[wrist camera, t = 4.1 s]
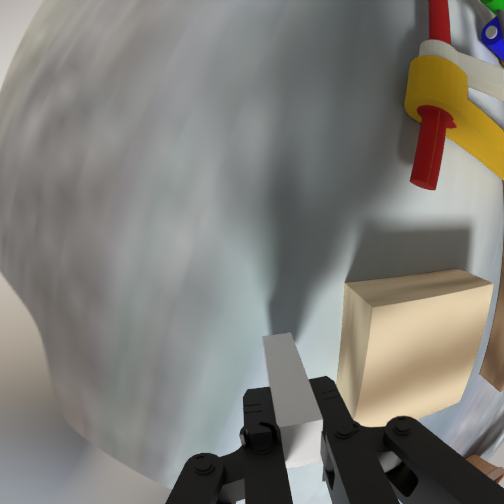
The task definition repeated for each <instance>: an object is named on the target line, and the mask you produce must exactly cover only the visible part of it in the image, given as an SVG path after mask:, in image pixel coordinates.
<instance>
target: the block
mask: <svg viewBox="0 0 504 504" xmlns="http://www.w3.org/2000/svg"><path fill="white" fill-rule="evenodd" d="M493 285H494V283H491V282H489V281H487V280H484V279H482V278H480V277H477V276H475V275H472V274H470V273H468V272H465V271H463V270H460V269H452V270H445V271H438V272H431V273H424V274H416V275H408V276H400V277H392V278H384V279H375V280H366V281H357V282H347V283H344V302H343V318H342V332H341V344H340V355H339V364H338V373H337V382H336V386H337V388H338V390H339V392H340V394H341V397H342V398H343V400H344V402H345V404H346V407H347V409H348V411H349V413H350V415H351V417H352V418H353V420H354V421H356V422H358V423H359V424H360V425H362V426H366V427H381V426H386V424H387V422H388V421H390V420H391V419H392V418H394V417H397V416H410V417H412V418H414V419H416V420H417V419H420V418H422V417H425V416H427V415H430V414H432V413H435V412H437V411H439V410H442V409H444V408H446V407H449V406H451V405H453V404H455V403H457V402H459V401H460V399H461V397H462V394H463V392H464V389H465V387H466V384H467V382H468V379H469V376H470V373H471V371H472V368H473V365H474V362H475V359H476V356H477V352H478V349H479V346H480V342H481V339H482V335H483V332H484V328H485V324H486V320H487V315H488V311H489V306H490V301H491V296H492V291H493Z"/></svg>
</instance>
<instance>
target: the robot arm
mask: <svg viewBox="0 0 504 504" xmlns="http://www.w3.org/2000/svg"><path fill="white" fill-rule="evenodd" d="M262 339H263V347H264V355H265V363H266V371H267V378H268V384H269V387H263V388H255V389H247V391H246V393H245V395H244V396H243V412H244V427H243V428H242V429H241V431H240V435H239V436H240V439H241V443H242V446H241V447H240V448H239V449H238V450H236V451H235V452H233V453H231V454H228V455H225V456H222V457H218V456H217V455H214V454H211V453H200V454H196V455H194V456H192V457H191V458H189V459H188V461H187V462H186V463H185V465H184V467H183V469H182V471H181V473H180V475H179V477H178V479H177V481H176V483H175V485H174V487H173V489H172V491H171V493H170V495H169V497H168V499H167V502H166V503H165V504H236V501H239V500H242V499H245V504H293V501H292V496H291V490H290V485H289V480H288V474H287V468H293V467H299V466H304V465H309V464H314V463H319V462H321V458H322V461H323V464H324V466H323V477H322V482H323V481H325V480H326V483H327V487H328V490H329V494H330V497H331V500H332V504H400V503H399V501H398V499H399V500H400V501H401V502H402V503H403V504H504V488H503V487H501V486H500V485H499V484H497V483H496V482H495V481H493V480H492V479H491V478H489V477H488V476H487V475H485V474H484V473H483V472H482V471H480V470H479V469H478V468H476V467H475V466H474V465H472V464H471V463H470V462H469V461H467V460H466V459H465V458H463V457H462V456H461V455H460V454H458V453H457V452H456V451H455V450H453V449H452V448H451V447H449V446H448V445H447V444H446V443H444V442H443V441H442V440H441V439H439V438H438V437H437V436H436V435H434V434H433V433H432V432H431V431H429V430H428V429H427V428H426V427H425V426H423V425H422V424H421V423H420V422H418V421H417V420H416V419H414V418H412V417H410V416H397V417H394V418H392V419H391V420H390V421H388V422H387V424H386V426H381V427H366V426H362V425H360V424H359V423H358V422H356V421H354V420H353V418H352V417H351V415H350V413H349V411H348V409H347V407H346V404H345V402H344V400H343V398H342V397H341V394H340V392H339V390H338V388H337V386H336V384H335V382H334V381H333V380H331V379H330V378H329V377H327V376H324V377H319V378H314V379H309V380H308V377H307V375H306V372H305V369H304V366H303V364H302V361H301V358H300V356H299V353H298V350H297V348H296V345H295V342H294V340H293V337H292V334H291V332H290V333H283V334H277V335H270V336H263V337H262ZM397 498H398V499H397Z"/></svg>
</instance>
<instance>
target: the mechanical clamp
mask: <svg viewBox="0 0 504 504" xmlns="http://www.w3.org/2000/svg"><path fill="white" fill-rule="evenodd" d="M480 1H481V2H482V3H483V4H484V5H485V6H486V7H488V8H489V9H490V10H491V11H492V12H493V13H494V14H495V15H496V17H495V18H494V19H492V20H491V21H490V22H489V23H488V24H487V25H486V26H485V27H484V29H483V31H482V36H481V37H482V41H483V43H484V44H486V45H487V46H488V47H489V48H490V49H491V50H492V51H493V52H494V53H495V54H496V55H497V56H498V57H499V58H500V60H501V63H502V65H503V66H504V0H480ZM428 2H429V40H426V41H424V42H422V43H421V44H420V47H419V56H418V57H416V58H414V59H413V60H412V61H411V62H410V66H409V74H408V82H407V89H406V96H405V102H404V108H405V111H406V112H407V114H408V115H409V116H411V117H412V118H413V119H415V120H416V121H418V122H419V123H421V127H420V133H419V138H418V144H417V149H416V154H415V159H414V164H413V168H412V173H411V177H410V182H411V183H413V184H414V185H416V186H418V187H421V188H424V189H428V190H436V186H437V181H438V176H439V171H440V166H441V160H442V155H443V149H444V142H445V136H446V137H448V138H449V139H451V140H452V141H454V142H455V143H456V144H458V145H459V146H461V147H462V148H463V149H465V150H466V151H468V152H469V153H470V154H472V155H473V156H474V157H475V158H477V159H478V160H479V161H481V162H482V163H483V164H484V165H486V166H487V167H488V168H489V169H490V170H492V171H493V172H494V173H495V174H496V175H498V176H499V177H500V178H501V179H502V180H503V181H504V131H503V130H502V129H501V128H500V127H499V126H498V125H497V124H496V123H495V122H494V121H493V120H492V119H491V118H490V117H488V116H487V115H486V114H485V113H484V112H483V111H482V110H480V109H479V108H478V107H477V106H476V105H474V104H473V103H472V102H471V101H470V100H468V87H470V88H472V89H475V90H478V91H480V92H483V93H485V94H488V95H490V96H492V97H495V98H497V99H499V100H501V101H504V69H501V68H499V67H497V66H495V65H492V64H490V63H487V62H485V61H482V60H480V59H477V58H474V57H471V56H469V55H466V54H463V53H460V52H457V51H456V49H455V48H453V47H452V46H451V37H450V20H449V9H448V0H428Z"/></svg>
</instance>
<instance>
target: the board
mask: <svg viewBox="0 0 504 504" xmlns="http://www.w3.org/2000/svg"><path fill="white" fill-rule="evenodd" d="M503 193H504V181H503ZM480 375H481V376H482V377H483V378H484V379H486V380H487V381H488V382H489V383H490V384H491V385H493V386H494V387H495V388H496V389H497V390H498V391H499V392H501V391H503V390H504V244H503V259H502V270H501V279H500V287H499V294H498V300H497V306H496V312H495V317H494V322H493V326H492V331H491V335H490V339H489V343H488V347H487V351H486V354H485V358H484V361H483V365H482V368H481V371H480Z"/></svg>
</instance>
